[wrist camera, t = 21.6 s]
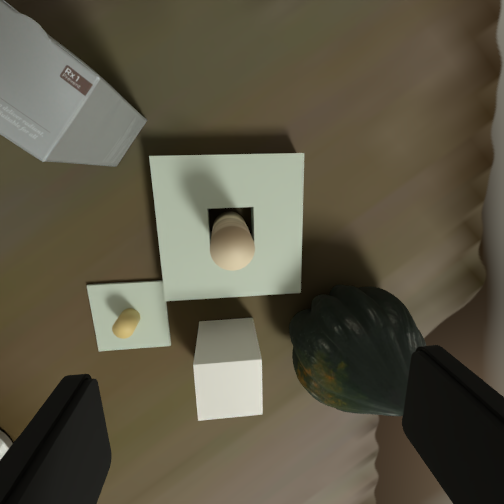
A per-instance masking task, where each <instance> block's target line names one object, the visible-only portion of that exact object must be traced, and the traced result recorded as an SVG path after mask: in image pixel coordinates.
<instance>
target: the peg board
mask: <svg viewBox="0 0 504 504" xmlns="http://www.w3.org/2000/svg"><path fill="white" fill-rule="evenodd" d="M149 160H150V169H151V178H152V187H153V196H154V205H155V214H156V223H157V232H158V241H159V250H160V259H161V268H162V277H163V286H164V295H165V301H178V300H194V299H210V298H226V297H242V296H258V295H274V294H290V293H301V265H302V223H303V181H304V153H281V154H229V155H177V156H149ZM239 207H251V228H252V239H253V241H254V244H255V253H254V256H253V259H252V260H251V262H250V263H249V264H248V265H247V266H245V267H244V268H242V269H239V270H235V271H230V270H225V269H222V268H220V267H219V266H218V265H216V264H215V262H214V261H213V259H212V257H211V255H210V242H211V237H210V221H209V209H211V208H239Z"/></svg>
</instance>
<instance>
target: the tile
mask: <svg viewBox="0 0 504 504" xmlns="http://www.w3.org/2000/svg"><path fill="white" fill-rule="evenodd" d="M87 290H88V295H89V301H90V306H91V312H92V317H93V322H94V328H95V333H96V338H97V344H98V349H99V351H108V350H121V349H135V348H148V347H161V346H171V338H170V329H169V320H168V311H167V302H166V301H165V295H164V286H163V280H157V281H140V282H122V283H104V284H88V285H87Z"/></svg>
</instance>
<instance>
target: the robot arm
mask: <svg viewBox="0 0 504 504" xmlns="http://www.w3.org/2000/svg"><path fill="white" fill-rule="evenodd" d="M402 426H403V430H404V432H405V434H406V436H407V438H408V439H409V440H410V442H411V443H412V445H413V446H414V448H415V449H416V451H417V452H418V453H419V455H420V456H421V458H422V459H423V461H424V462H425V464H426V465H427V466H428V468H429V469H430V471H431V472H432V474H433V475H434V476H435V478H436V479H437V481H438V482H439V484H440V485H441V487H442V488H443V489H444V491H445V492H446V494H447V495H448V497H449V498H450V500H451V501H452V502H453V504H504V397H503V396H502V395H500V394H499V393H498V392H497V391H495V390H494V389H493V388H491V387H490V386H489V385H488V384H486V383H485V382H484V381H483V380H482V379H481V378H479V377H478V376H477V375H476V374H474V373H473V372H472V371H471V370H469V369H468V368H467V367H466V366H464V365H463V364H462V363H461V362H460V361H458V360H457V359H456V358H455V357H453V356H452V355H451V354H450V353H448V352H447V351H446V350H445V349H443V348H442V347H440V346H438V345H433V346H420V347H418V348H417V349H416V351H415V352H413V353H412V356H411V362H410V369H409V376H408V383H407V390H406V397H405V404H404V411H403V418H402ZM110 464H111V448H110V443H109V438H108V433H107V428H106V422H105V417H104V412H103V407H102V402H101V397H100V391H99V386H98V382H97V380H96V379H91V376H90V375H89V374H80V375H68V376H65V377H64V378H63V379H62V380H61V381H60V383H59V384H58V385H57V387H56V388H55V389H54V391H53V392H52V393H51V395H50V396H49V397H48V399H47V400H46V401H45V403H44V404H43V405H42V407H41V408H40V409H39V411H38V412H37V413H36V415H35V416H34V417H33V419H32V420H31V421H30V423H29V424H28V425H27V427H26V428H25V429H24V431H23V432H22V433H21V435H20V436H19V437H18V438H17V439H16V440H15V441H14V443H12V441H11V440H10V439H9V437H8V436H7V435H6V434H5V433H4V432H2V431H1V430H0V504H96V503H97V501H98V498H99V495H100V493H101V490H102V487H103V484H104V482H105V479H106V476H107V474H108V471H109V468H110Z"/></svg>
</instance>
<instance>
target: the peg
mask: <svg viewBox="0 0 504 504" xmlns="http://www.w3.org/2000/svg"><path fill="white" fill-rule="evenodd" d="M254 253H255V244H254V241H253V239H252V236H251V234H250V232H249V230H248V227H247V225H246V223H245V221H244V219H243V218H242V216H241V215H239V214H238V213H236V212H232V211H227V212H223V213H221V214H220V215H218V216H217V217H216V219H215V220H214V223H213V229H212V236H211V242H210V255H211V257H212V259H213V261H214V262H215V264H216V265H218V266H219V267H220V268H222V269H225V270H230V271H235V270H239V269H242V268H244V267H245V266H247V265H248V264H249V263H250V262H251V260H252V259H253V256H254Z"/></svg>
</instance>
